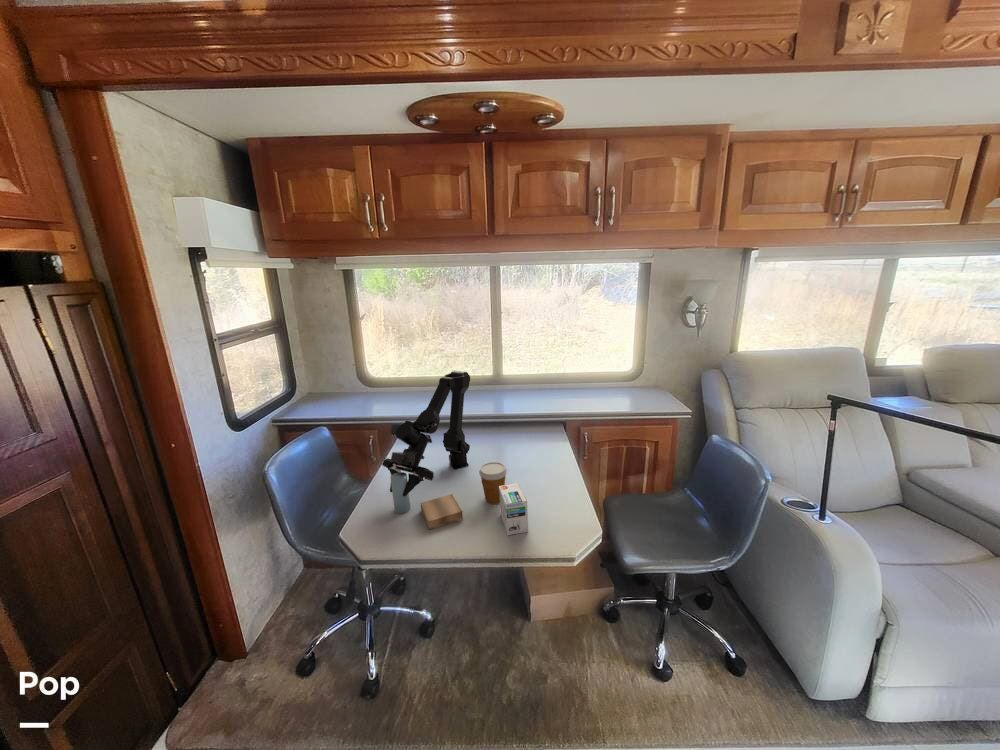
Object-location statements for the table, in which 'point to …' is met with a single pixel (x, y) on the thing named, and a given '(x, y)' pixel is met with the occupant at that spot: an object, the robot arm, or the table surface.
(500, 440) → the table surface
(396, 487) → the slate canister
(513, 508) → the light bulb box
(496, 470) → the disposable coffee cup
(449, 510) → the walnut base
